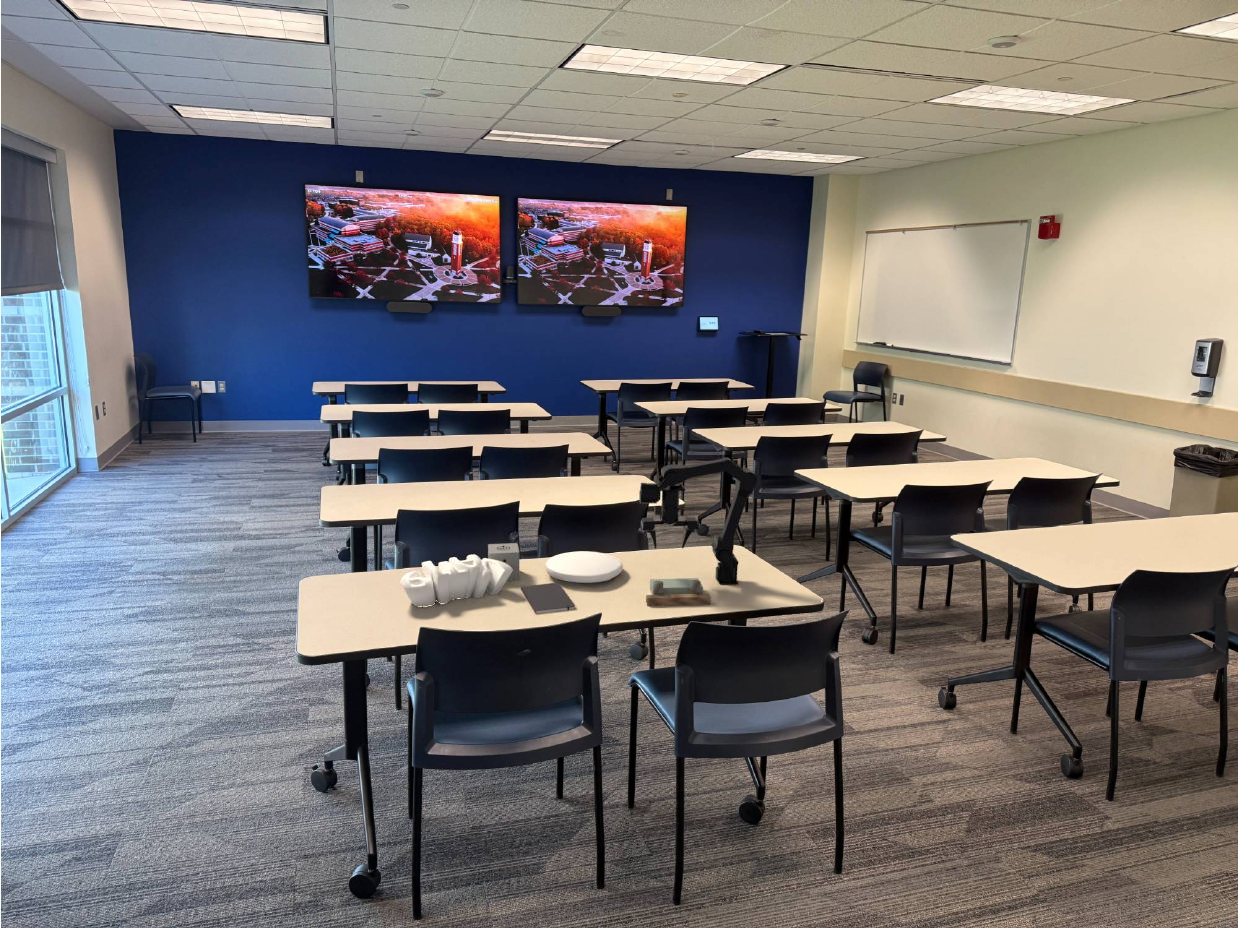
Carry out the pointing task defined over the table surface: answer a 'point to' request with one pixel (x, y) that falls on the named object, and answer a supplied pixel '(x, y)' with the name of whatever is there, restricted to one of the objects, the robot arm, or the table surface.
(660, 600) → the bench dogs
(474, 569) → the white wavy slab sculpture
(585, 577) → the plate
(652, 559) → the table surface
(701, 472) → the robot arm
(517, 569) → the icon cube
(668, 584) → the painted plate block
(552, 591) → the notebook
